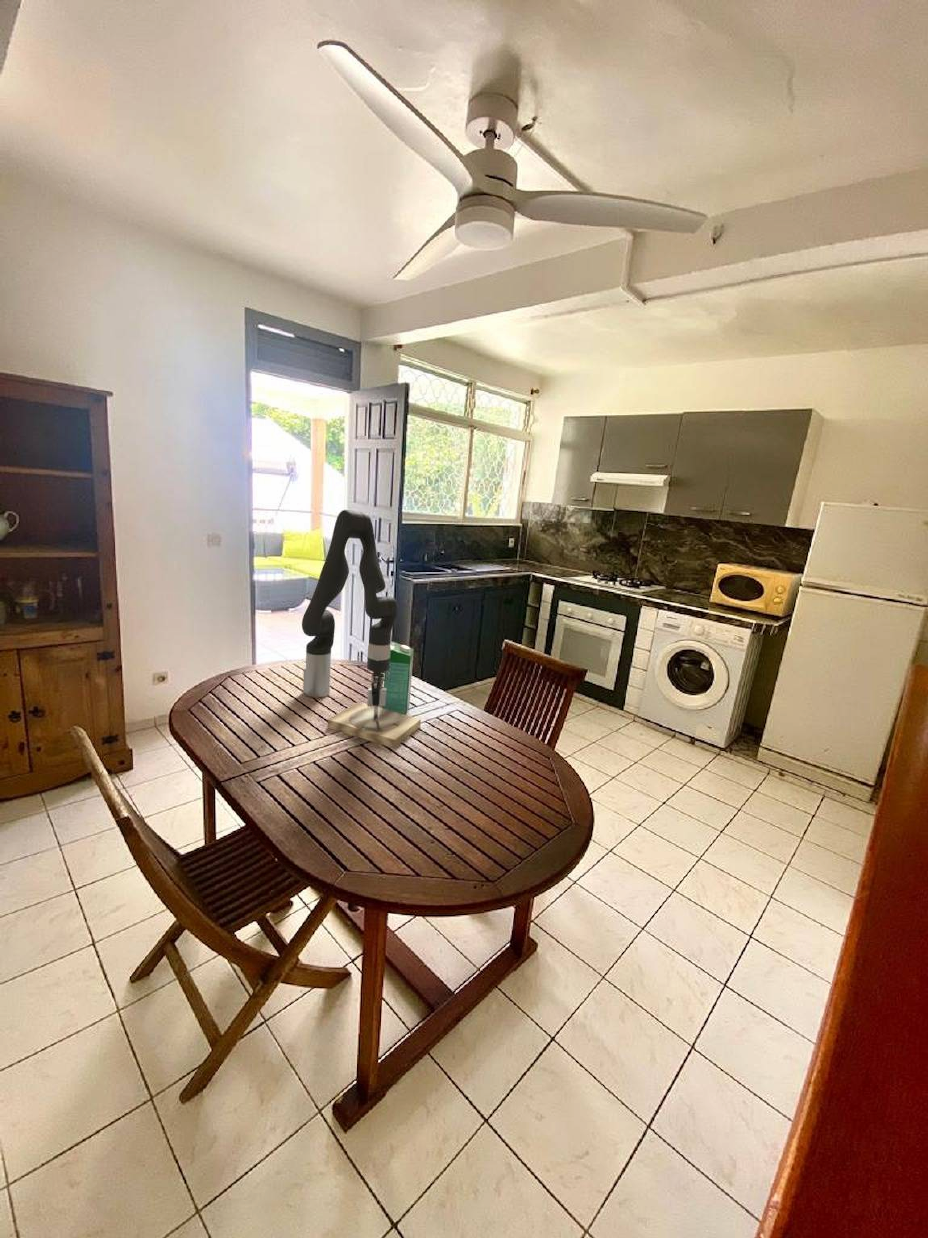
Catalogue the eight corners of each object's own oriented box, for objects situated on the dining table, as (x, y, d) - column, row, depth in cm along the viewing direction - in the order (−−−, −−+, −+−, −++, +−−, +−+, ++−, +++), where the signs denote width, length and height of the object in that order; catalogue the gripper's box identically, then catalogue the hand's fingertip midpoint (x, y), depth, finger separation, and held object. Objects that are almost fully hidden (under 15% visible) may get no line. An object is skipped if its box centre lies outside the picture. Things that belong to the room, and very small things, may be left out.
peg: (366, 717, 171) (368, 688, 168) (383, 717, 173) (385, 688, 170) (369, 730, 162) (371, 700, 159) (387, 730, 164) (389, 699, 161)
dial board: (327, 727, 168) (327, 718, 167) (358, 709, 185) (358, 700, 184) (394, 748, 159) (394, 739, 158) (420, 727, 176) (421, 718, 175)
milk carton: (406, 714, 185) (411, 650, 179) (382, 711, 185) (386, 647, 179) (409, 704, 193) (414, 643, 187) (386, 701, 193) (390, 640, 187)
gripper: (370, 648, 172) (368, 694, 176) (364, 661, 159) (362, 711, 163) (392, 650, 173) (389, 696, 177) (388, 663, 159) (385, 713, 163)
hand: (376, 703), depth 170 cm, fingers closed
